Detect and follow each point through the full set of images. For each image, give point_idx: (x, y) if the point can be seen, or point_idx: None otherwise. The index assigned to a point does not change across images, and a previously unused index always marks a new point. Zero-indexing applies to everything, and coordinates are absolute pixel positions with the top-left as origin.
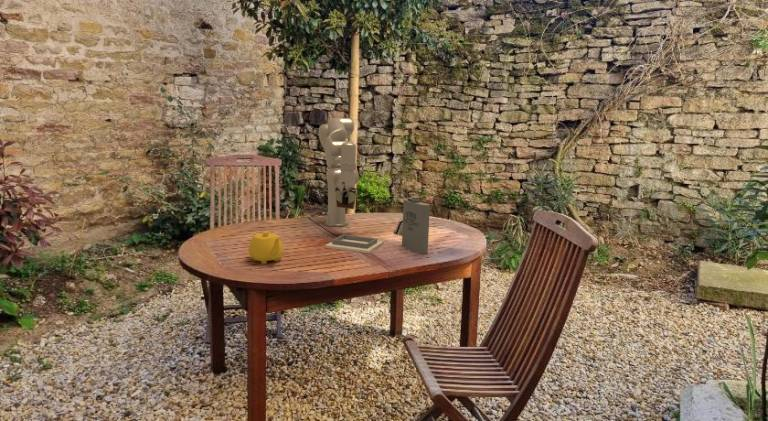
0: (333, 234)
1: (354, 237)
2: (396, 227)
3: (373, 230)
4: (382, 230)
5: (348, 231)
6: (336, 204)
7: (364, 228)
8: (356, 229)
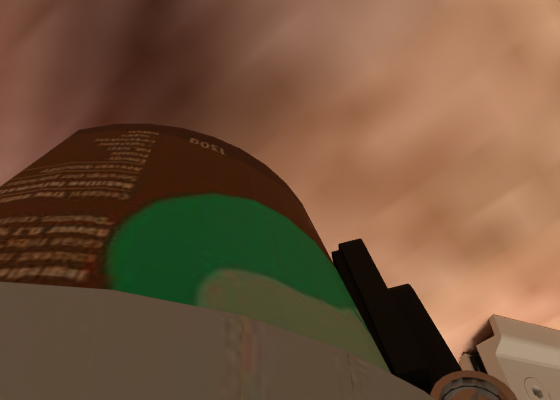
0: (151, 2)
1: None
2: (502, 373)
3: (497, 180)
4: (528, 227)
5: (349, 39)
6: (58, 150)
7: (530, 80)
8: (460, 47)
